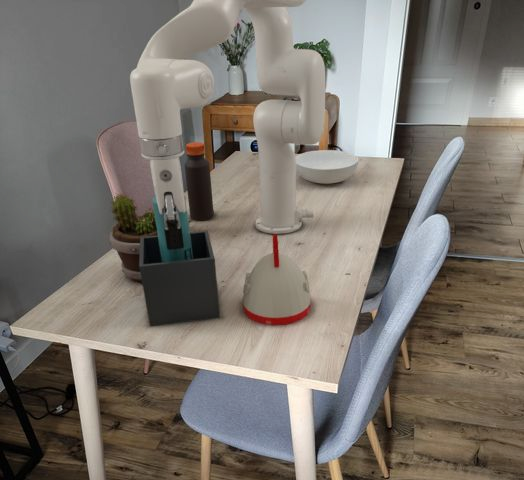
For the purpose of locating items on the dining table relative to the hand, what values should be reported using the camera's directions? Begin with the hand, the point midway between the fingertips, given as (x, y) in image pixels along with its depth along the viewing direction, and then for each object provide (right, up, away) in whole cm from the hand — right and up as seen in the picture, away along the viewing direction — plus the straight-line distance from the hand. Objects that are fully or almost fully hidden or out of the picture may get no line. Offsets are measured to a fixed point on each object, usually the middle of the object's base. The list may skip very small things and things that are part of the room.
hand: (174, 240), depth 104 cm
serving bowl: (+38, +35, +73) cm, 90 cm away
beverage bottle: (0, -6, +4) cm, 7 cm away
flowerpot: (-9, -4, +21) cm, 23 cm away
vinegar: (0, +17, +49) cm, 52 cm away
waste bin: (0, -12, +8) cm, 14 cm away
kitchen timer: (+20, -13, +6) cm, 25 cm away
